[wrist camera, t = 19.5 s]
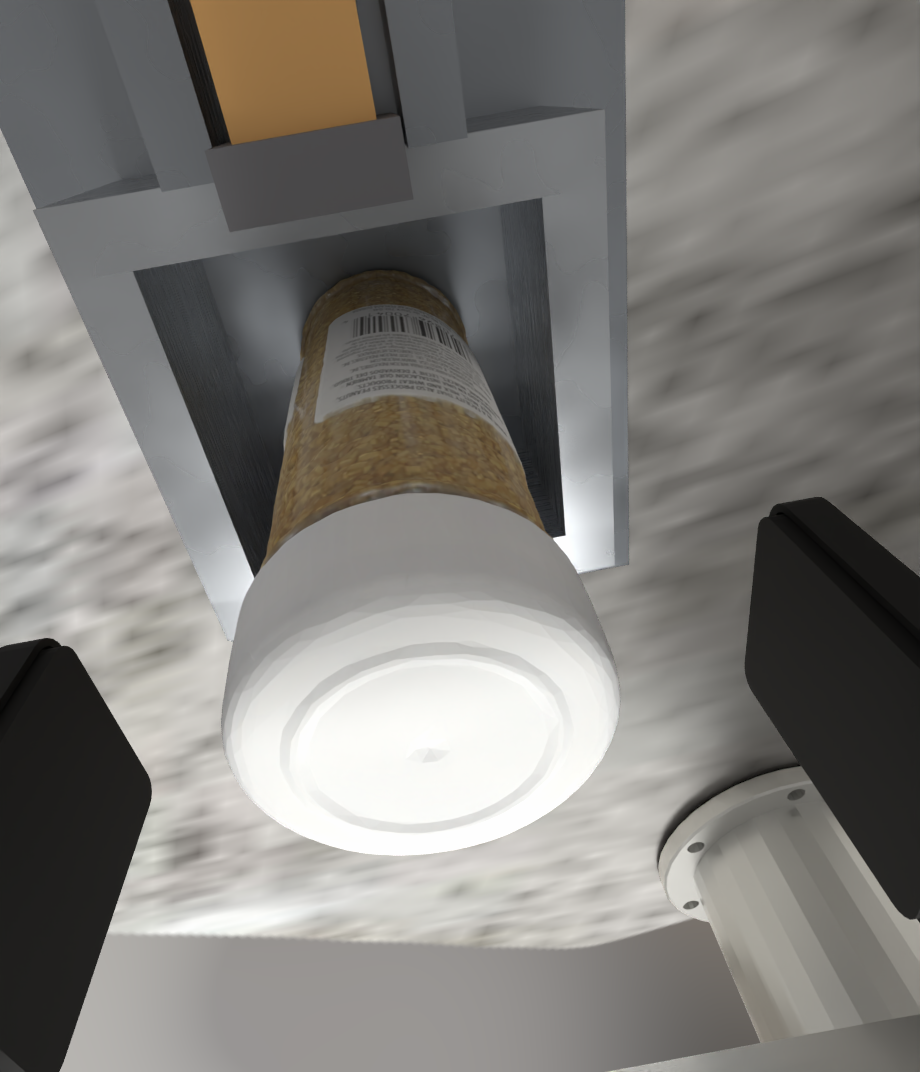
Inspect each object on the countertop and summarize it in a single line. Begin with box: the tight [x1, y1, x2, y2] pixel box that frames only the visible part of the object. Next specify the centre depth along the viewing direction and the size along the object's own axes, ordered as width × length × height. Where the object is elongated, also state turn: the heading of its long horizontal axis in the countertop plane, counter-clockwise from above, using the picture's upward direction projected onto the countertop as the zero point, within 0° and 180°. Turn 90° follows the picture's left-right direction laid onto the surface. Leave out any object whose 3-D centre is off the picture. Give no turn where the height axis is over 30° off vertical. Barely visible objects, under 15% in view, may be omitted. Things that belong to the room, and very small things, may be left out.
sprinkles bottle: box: [221, 270, 621, 856], centre depth 13 cm, size 5×5×13 cm
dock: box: [0, 0, 629, 642], centre depth 16 cm, size 18×14×8 cm
